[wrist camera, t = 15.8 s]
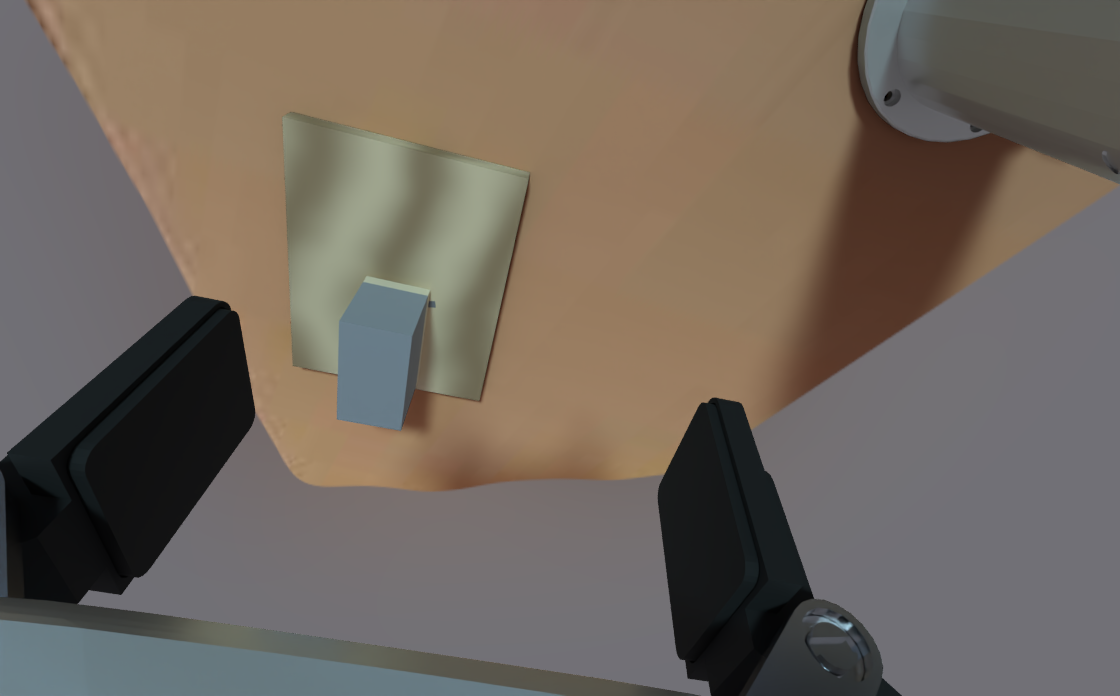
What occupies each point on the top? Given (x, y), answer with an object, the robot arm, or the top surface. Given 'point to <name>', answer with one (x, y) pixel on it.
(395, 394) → the block
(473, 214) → the board
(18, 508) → the robot arm
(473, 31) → the top surface
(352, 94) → the top surface
